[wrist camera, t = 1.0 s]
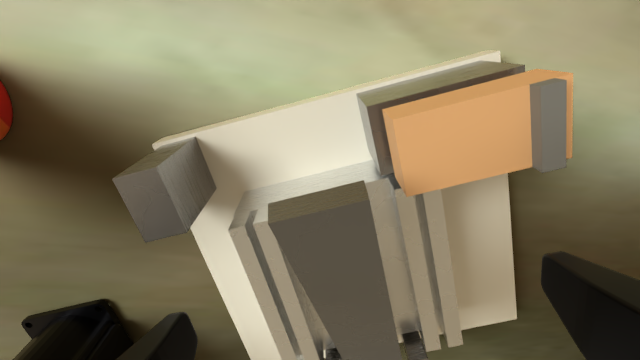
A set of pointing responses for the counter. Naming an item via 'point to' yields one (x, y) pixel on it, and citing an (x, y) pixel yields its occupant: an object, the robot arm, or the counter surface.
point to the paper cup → (5, 112)
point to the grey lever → (340, 267)
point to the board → (331, 153)
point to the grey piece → (378, 174)
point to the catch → (482, 131)
